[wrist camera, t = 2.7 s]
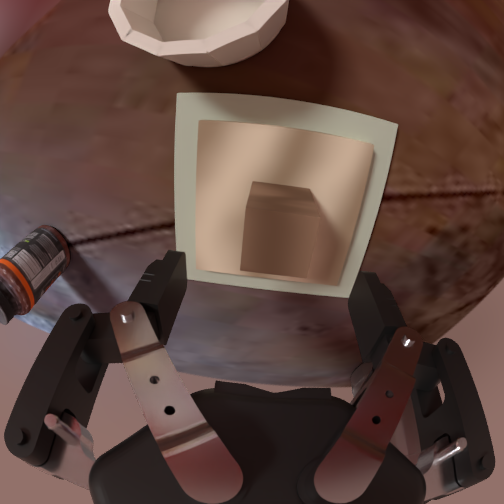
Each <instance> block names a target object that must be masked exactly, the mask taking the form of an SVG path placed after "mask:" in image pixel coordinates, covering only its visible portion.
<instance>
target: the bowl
mask: <svg viewBox="0 0 504 504" xmlns="http://www.w3.org/2000/svg"><path fill="white" fill-rule="evenodd" d="M288 3H289V0H110V5H109V10H108V11H109V12H108V13H109V15H110V17H111V19H112V21H113V23H114V25H115V27H116V29H117V31H118V33H119V35H120V37H121V39H122V40H123V41H125V42H127V43H129V44H132V45H134V46H136V47H139V48H141V49H143V50H145V51H148V52H150V53H152V54H154V55H156V56H159V57H162V58H165V59H168V60H171V61H174V62H176V63H179V64H182V65H185V66H197V67H221V66H227V65H231V64H235V63H238V62H241V61H243V60H246V59H248V58H250V57H252V56H254V55H255V54H257V53H259V52H260V51H262V50H263V49H264V48H265V47H267V46H268V45H269V44H270V43H271V42H272V41H273V40H274V39H275V37H276V36H277V35H278V34H279V32H280V30H281V28H282V27H283V26H284V25H285V23H286V17H287V10H288Z"/></svg>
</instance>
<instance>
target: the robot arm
mask: <svg viewBox="0 0 504 504" xmlns="http://www.w3.org/2000/svg"><path fill="white" fill-rule="evenodd" d="M186 288H187V268H186V254H185V252H182V251H173V250H168V252H167V253H166V255H165V257H164V258H163V260H155V261H154V262H153V263H151V264H150V265H149V266H148V267H147V269H146V271H145V272H144V274H143V276H142V277H141V280H139V282H138V284H137V286H136V287H135V289H134V291H133V292H132V294H131V296H130V297H129V299H128V301H125V302H122V303H119V304H117V305H116V306H115V307H114V308H113V309H112V310H111V312H110V313H96V314H92V312H91V309H90V308H89V307H88V306H87V305H85V304H74V305H71V306H69V307H68V308H67V309H65V310H64V312H63V313H62V315H61V316H60V318H59V320H58V321H57V323H56V325H55V326H54V328H53V330H52V331H51V333H50V335H49V337H48V338H47V340H46V342H45V344H44V345H43V347H42V349H41V351H40V353H39V355H38V356H37V358H36V360H35V362H34V364H33V366H32V368H31V370H30V372H29V374H28V376H27V378H26V380H25V382H24V385H23V387H22V389H21V391H20V393H19V396H18V398H17V400H16V403H15V405H14V408H13V410H12V413H11V415H10V418H9V420H8V423H7V426H6V429H5V433H4V439H5V443H6V446H7V448H8V449H9V451H10V452H11V453H12V454H13V455H15V456H16V457H18V458H20V459H21V460H23V461H25V462H26V463H27V464H29V465H30V466H32V467H34V468H36V469H38V470H40V471H42V472H44V473H46V474H49V475H52V476H54V477H57V478H59V479H65V480H67V481H69V482H71V483H73V484H76V485H78V486H80V487H83V488H85V489H87V490H90V493H91V496H92V499H93V502H94V504H426V503H427V502H429V501H430V500H437V499H440V498H443V497H446V496H449V495H451V494H454V493H456V492H459V491H461V490H463V489H466V488H468V487H470V486H472V485H475V484H477V483H479V482H481V481H483V480H485V479H487V478H488V477H489V476H490V475H491V474H492V472H493V470H494V467H495V456H494V451H493V446H492V441H491V437H490V434H489V429H488V425H487V422H486V418H485V414H484V411H483V408H482V404H481V401H480V398H479V395H478V392H477V389H476V387H475V384H474V381H473V378H472V376H471V373H470V370H469V368H468V366H467V363H466V360H465V358H464V356H463V353H462V351H461V349H460V347H459V345H458V344H457V343H456V342H455V341H453V340H452V339H449V338H442V339H441V340H440V341H439V342H438V344H437V345H433V344H429V343H426V342H423V340H422V337H421V336H420V334H419V333H418V332H417V331H416V330H414V329H412V328H410V327H407V325H406V323H405V321H404V319H403V316H402V314H401V312H400V310H399V308H398V306H397V303H396V301H395V300H394V297H393V295H392V293H391V291H390V290H389V289H388V288H387V287H386V286H385V285H384V284H382V283H380V281H379V279H378V277H377V275H376V273H375V272H365V271H360V272H359V273H358V275H357V277H356V280H355V283H354V285H353V288H352V291H351V293H350V296H349V300H348V309H349V312H350V316H351V319H352V323H353V326H354V330H355V334H356V338H357V341H358V345H359V349H360V353H361V357H362V361H363V364H361V365H360V366H359V367H358V368H357V369H356V370H355V371H354V372H353V374H352V376H351V385H352V393H353V396H354V398H353V400H352V401H351V403H348V402H346V401H344V400H342V399H340V398H337V397H333V396H331V389H330V388H300V389H295V390H290V391H285V392H279V393H272V392H269V391H265V390H262V389H259V388H255V387H252V386H249V385H246V384H238V383H230V382H222V381H216V383H215V388H211V389H205V390H201V391H198V392H195V393H192V394H189V392H188V390H187V389H186V387H185V385H184V384H183V382H182V380H181V378H180V376H179V374H178V373H177V371H176V369H175V367H174V365H173V363H172V361H171V359H170V357H169V356H168V354H167V352H166V350H165V348H164V346H163V345H166V344H167V341H168V338H169V335H170V333H171V330H172V327H173V324H174V321H175V319H176V316H177V313H178V311H179V308H180V305H181V303H182V300H183V297H184V295H185V292H186ZM109 363H123V365H124V368H125V370H126V373H127V376H128V379H129V381H130V384H131V386H132V389H133V391H134V394H135V396H136V399H137V401H138V403H139V406H140V408H141V410H142V412H143V415H144V417H145V419H146V421H147V425H146V426H144V427H143V428H142V429H140V430H139V431H137V432H136V433H134V434H133V435H131V436H130V437H129V438H127V439H126V440H124V441H123V442H121V443H119V444H118V445H116V446H115V447H113V448H112V449H110V450H109V451H107V452H106V453H104V454H103V455H101V456H100V457H99V458H98V459H97V460H96V459H95V457H94V454H93V438H92V436H91V434H90V432H89V431H88V430H87V429H86V428H87V425H88V422H89V419H90V415H91V412H92V409H93V406H94V403H95V400H96V397H97V394H98V391H99V388H100V386H101V383H102V380H103V377H104V375H105V372H106V369H107V367H108V364H109ZM440 382H441V383H442V386H443V390H444V393H445V400H444V402H443V404H442V400H441V397H440V393H439V390H438V386H437V385H438V384H439V383H440Z"/></svg>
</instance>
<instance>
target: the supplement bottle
mask: <svg viewBox="0 0 504 504" xmlns="http://www.w3.org/2000/svg"><path fill="white" fill-rule="evenodd" d="M69 261H70V253H69V249H68V246H67V243H66V241H65V239H64V238H63V237H62V235H61V234H60V233H59V232H58V231H57V230H56V229H55V228H53V227H51V226H48V225H42V226H40V227H38V228H37V229H35V230H34V231H33V232H32V233H30V234H29V235H28V236H26V237H25V238H24V239H23V240H22V241H21V242H19V243H18V244H17V245H16V246H15V247H13V248H12V249H11V250H10V251H9V252H8V253H7V254H5V255H4V256H3V257H2V258H1V259H0V323H2V324H4V325H6V324H8V323H9V321H10V320H11V319H12V318H13V317H14V315H25V314H27V313H28V312H29V311H30V310H31V309H32V307H33V306H34V305H35V304H36V303H37V301H38V300H39V299H40V298H41V296H42V295H43V294H44V293H45V292H46V290H47V289H48V288H49V287H50V286H51V285H52V284H53V282H54V281H55V280H56V279H57V278H58V277H59V276H60V275H61V274H62V272H64V270H65V269H66V268H67V266H68V264H69Z"/></svg>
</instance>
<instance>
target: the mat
mask: <svg viewBox="0 0 504 504" xmlns="http://www.w3.org/2000/svg"><path fill="white" fill-rule="evenodd" d="M199 120H223V121H238V122H250V123H260V124H269V125H277V126H285V127H292V128H298V129H305V130H311V131H316V132H322V133H327V134H332V135H337V136H342V137H347V138H351V139H355V140H360V141H364V142H368V143H371V144H373V145H374V150H373V154H372V159H371V164H370V169H369V173H368V177H367V182H366V186H365V190H364V194H363V198H362V202H361V206H360V210H359V214H358V217H357V221H356V225H355V228H354V232H353V235H352V239H351V242H350V245H349V249H348V252H347V255H346V258H345V262H344V265H343V268H342V271H341V274H340V277H339V280H338V283H337V286H334V285H324V284H314V283H305V282H296V281H287V280H278V279H269V278H261V277H253V276H245V275H237V274H229V273H221V272H213V271H206V270H198V269H196V240H195V210H196V164H197V140H198V122H199ZM397 127H398V124H395V123H392V122H389V121H386V120H382V119H379V118H375V117H372V116H368V115H364V114H360V113H356V112H352V111H348V110H344V109H339V108H335V107H330V106H325V105H320V104H315V103H309V102H303V101H297V100H290V99H283V98H275V97H266V96H256V95H244V94H228V93H177V103H176V122H175V156H174V196H175V230H176V251H182V252H185V254H186V268H187V279H190V280H197V281H204V282H211V283H218V284H226V285H234V286H241V287H250V288H258V289H266V290H275V291H284V292H293V293H303V294H313V295H323V296H334V297H345V298H349V295H350V293H351V290H352V288H353V285H354V282H355V280H356V277H357V274H358V271H359V269H360V266H361V263H362V260H363V257H364V254H365V251H366V248H367V245H368V242H369V239H370V236H371V233H372V230H373V226H374V223H375V220H376V216H377V213H378V209H379V206H380V202H381V198H382V195H383V191H384V187H385V183H386V179H387V175H388V171H389V166H390V162H391V158H392V153H393V148H394V143H395V138H396V133H397Z"/></svg>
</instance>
